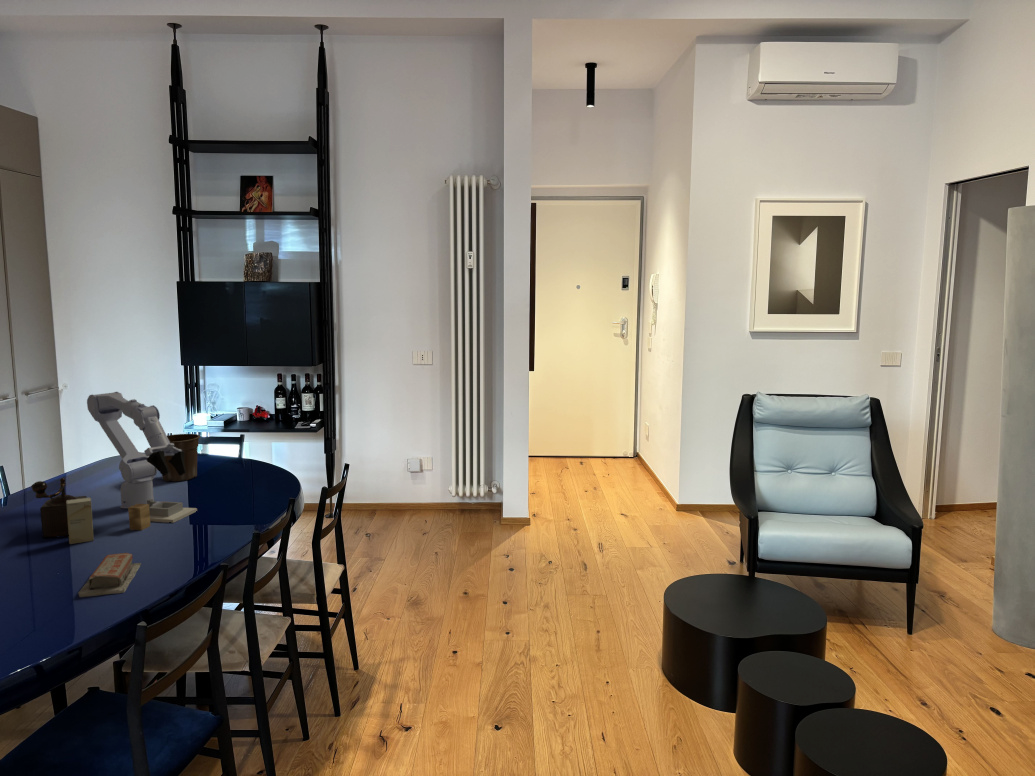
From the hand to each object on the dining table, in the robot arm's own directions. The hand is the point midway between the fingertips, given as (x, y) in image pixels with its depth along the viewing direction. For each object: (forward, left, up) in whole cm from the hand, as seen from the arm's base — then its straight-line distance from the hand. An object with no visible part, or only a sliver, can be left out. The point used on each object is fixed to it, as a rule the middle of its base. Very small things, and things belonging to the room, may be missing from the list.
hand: (174, 474), depth 227 cm
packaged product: (+17, -49, -15) cm, 54 cm away
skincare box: (-13, -25, -14) cm, 32 cm away
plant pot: (-30, +43, -14) cm, 54 cm away
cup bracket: (-4, 0, -14) cm, 15 cm away
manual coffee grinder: (-23, -21, -14) cm, 34 cm away
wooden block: (-4, -12, -14) cm, 19 cm away
